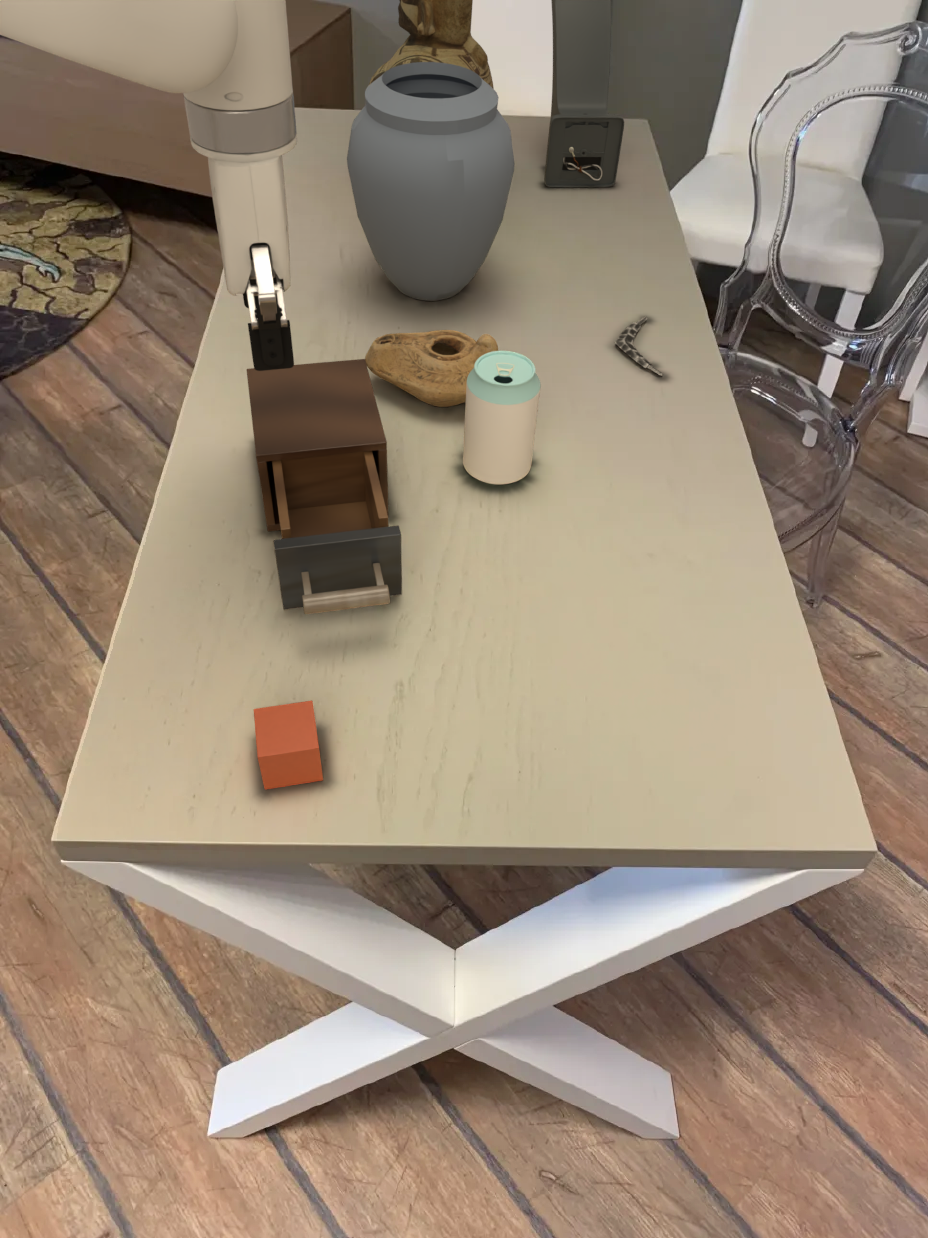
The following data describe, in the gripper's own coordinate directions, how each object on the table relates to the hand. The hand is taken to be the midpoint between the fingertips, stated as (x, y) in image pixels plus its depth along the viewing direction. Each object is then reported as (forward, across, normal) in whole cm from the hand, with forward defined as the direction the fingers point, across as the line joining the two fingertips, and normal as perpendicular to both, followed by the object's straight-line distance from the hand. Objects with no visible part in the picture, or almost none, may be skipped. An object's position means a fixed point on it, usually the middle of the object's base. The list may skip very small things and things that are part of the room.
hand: (268, 335), depth 79 cm
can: (+18, -1, +22) cm, 28 cm away
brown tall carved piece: (+18, -70, +29) cm, 78 cm away
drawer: (+17, +12, +3) cm, 21 cm away
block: (+18, +30, -3) cm, 36 cm away
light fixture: (+18, -72, +52) cm, 90 cm away
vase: (+18, -38, +22) cm, 48 cm away
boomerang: (+18, -20, +44) cm, 51 cm away
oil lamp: (+18, -15, +18) cm, 29 cm away
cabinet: (+18, -2, +4) cm, 18 cm away
